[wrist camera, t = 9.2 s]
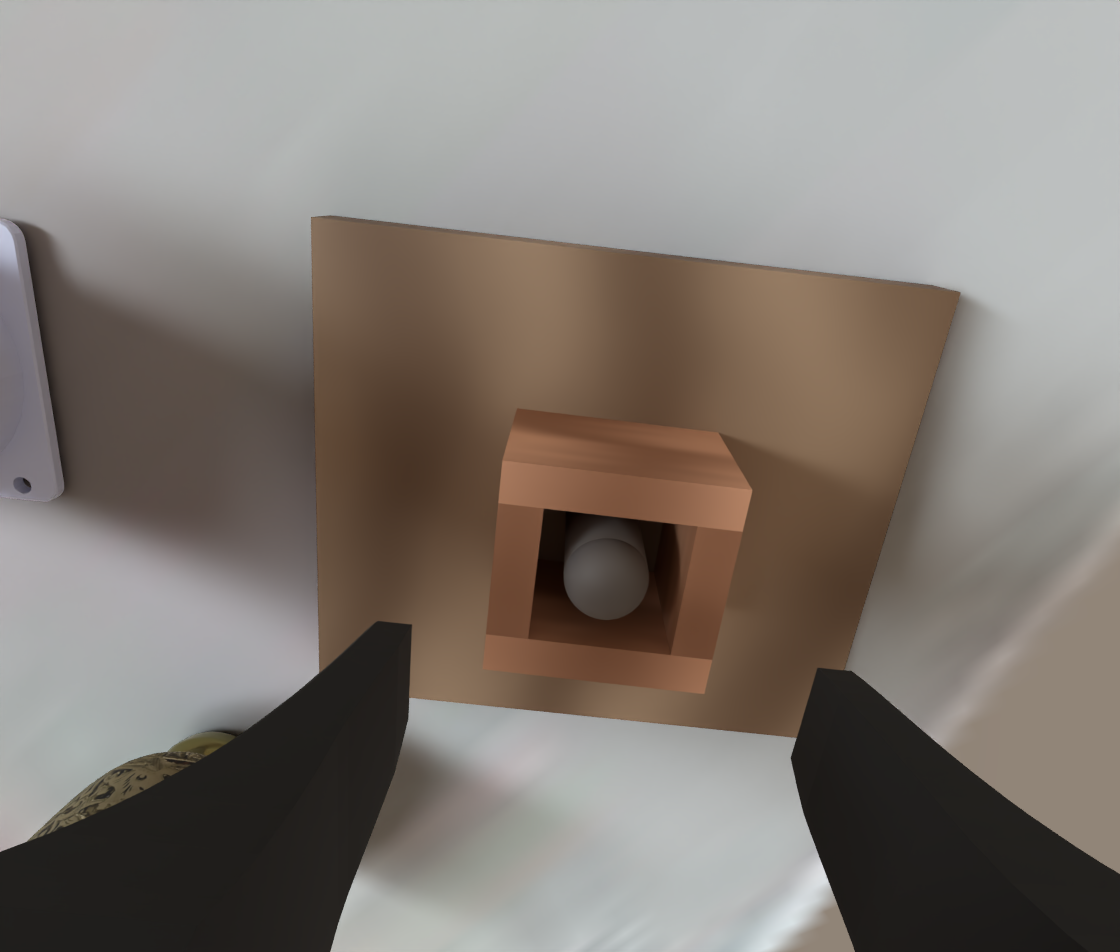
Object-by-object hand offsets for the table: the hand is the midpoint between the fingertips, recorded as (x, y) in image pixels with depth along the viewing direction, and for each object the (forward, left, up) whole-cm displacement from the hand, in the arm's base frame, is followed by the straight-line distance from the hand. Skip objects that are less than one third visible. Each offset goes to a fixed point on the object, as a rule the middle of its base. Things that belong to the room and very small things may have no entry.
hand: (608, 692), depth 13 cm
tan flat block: (0, 0, -9) cm, 9 cm away
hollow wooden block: (0, 0, -8) cm, 8 cm away
